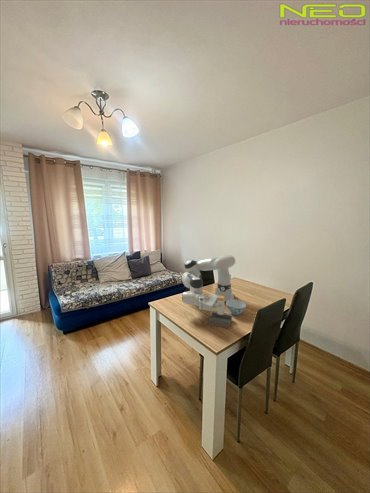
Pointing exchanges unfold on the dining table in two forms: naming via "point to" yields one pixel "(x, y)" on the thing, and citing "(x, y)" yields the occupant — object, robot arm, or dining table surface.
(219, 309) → the plug post
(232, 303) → the chinaware
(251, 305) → the dining table surface
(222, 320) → the duct block
